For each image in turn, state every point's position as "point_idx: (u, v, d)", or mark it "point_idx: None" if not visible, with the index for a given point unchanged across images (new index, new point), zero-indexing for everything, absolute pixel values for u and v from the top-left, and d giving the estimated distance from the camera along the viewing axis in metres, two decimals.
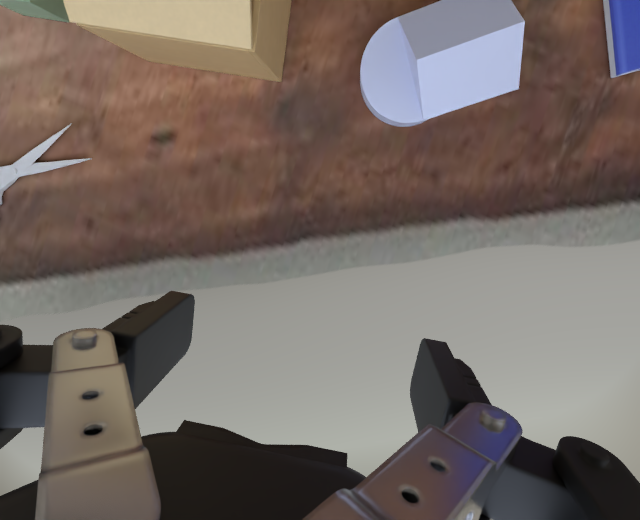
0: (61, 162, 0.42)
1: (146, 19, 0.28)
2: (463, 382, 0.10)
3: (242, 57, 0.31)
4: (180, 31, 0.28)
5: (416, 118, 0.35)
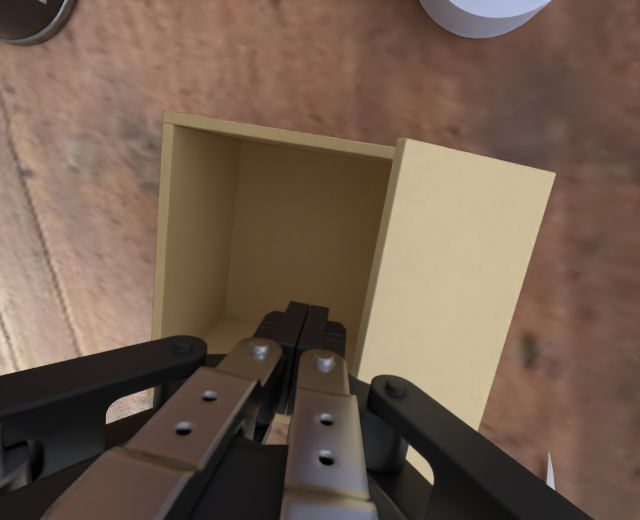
0: None
1: (487, 357, 0.16)
2: (321, 336, 0.11)
3: None
4: (510, 301, 0.16)
5: None
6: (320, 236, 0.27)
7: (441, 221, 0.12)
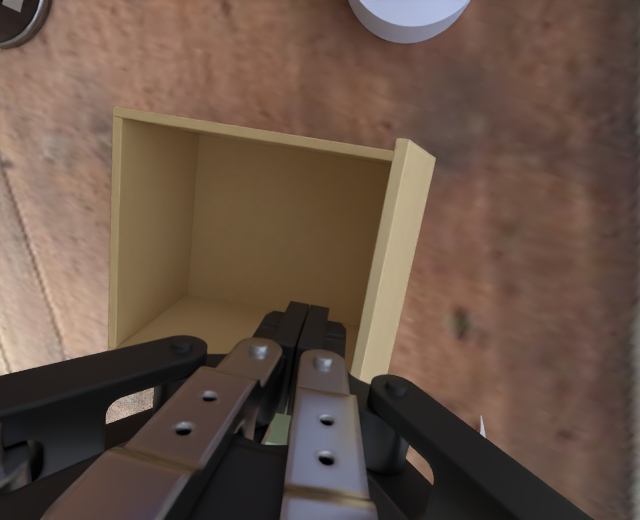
0: None
1: (398, 316, 0.19)
2: (321, 336, 0.11)
3: None
4: (410, 267, 0.19)
5: None
6: (271, 220, 0.30)
7: (405, 212, 0.13)
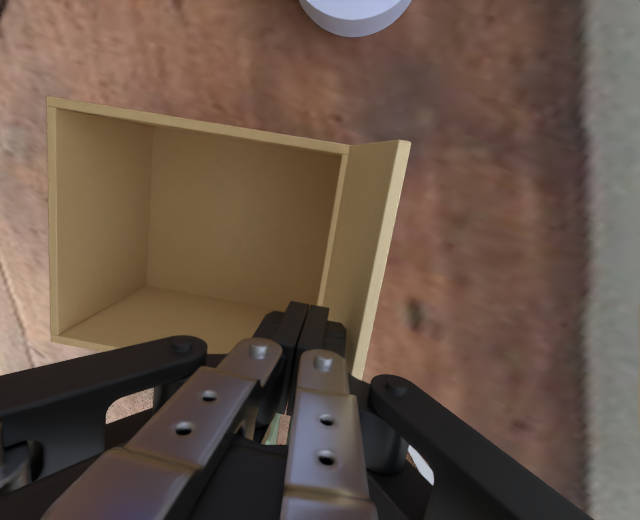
0: None
1: None
2: (321, 336, 0.11)
3: None
4: None
5: None
6: (226, 212, 0.31)
7: None
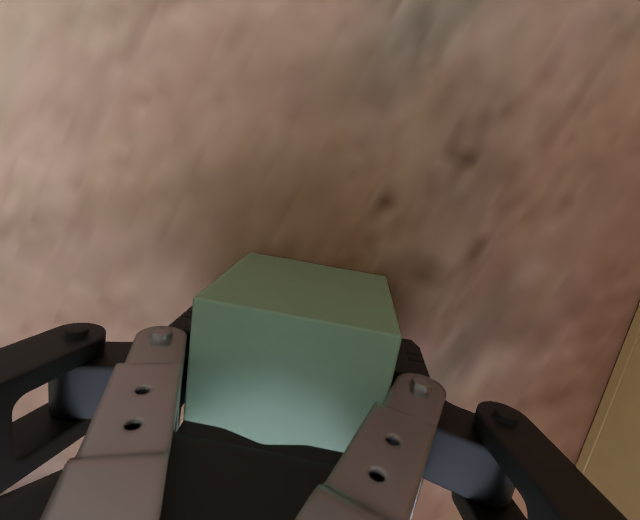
0: None
1: None
2: (404, 357, 0.11)
3: None
4: None
5: None
6: None
7: None
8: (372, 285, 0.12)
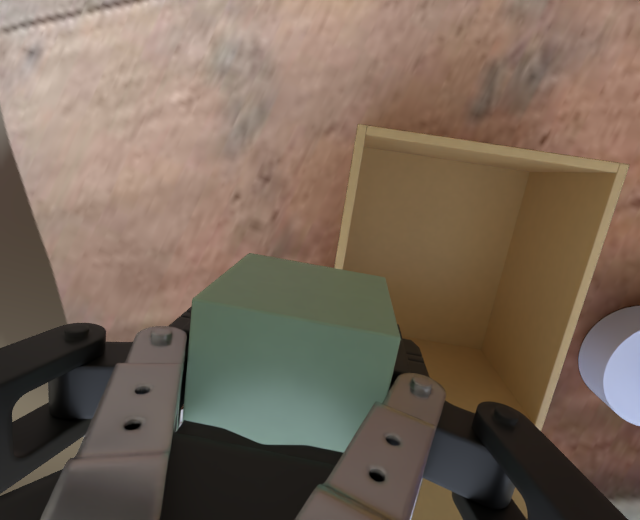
0: None
1: None
2: (404, 357, 0.11)
3: None
4: None
5: None
6: (437, 240, 0.31)
7: None
8: (371, 286, 0.12)
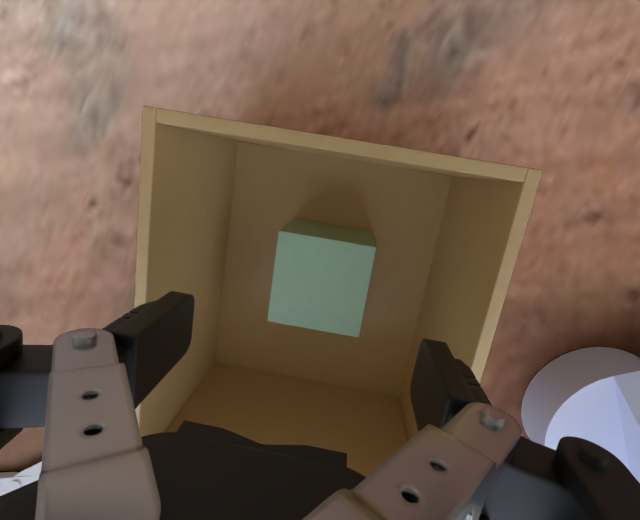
0: None
1: None
2: (463, 382, 0.10)
3: None
4: None
5: None
6: None
7: None
8: (364, 233, 0.23)
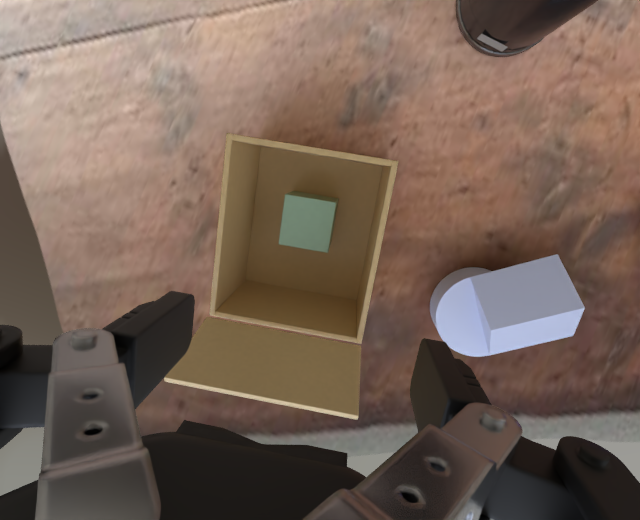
0: None
1: None
2: (463, 382, 0.10)
3: None
4: None
5: (483, 353, 0.41)
6: None
7: None
8: (332, 198, 0.40)
